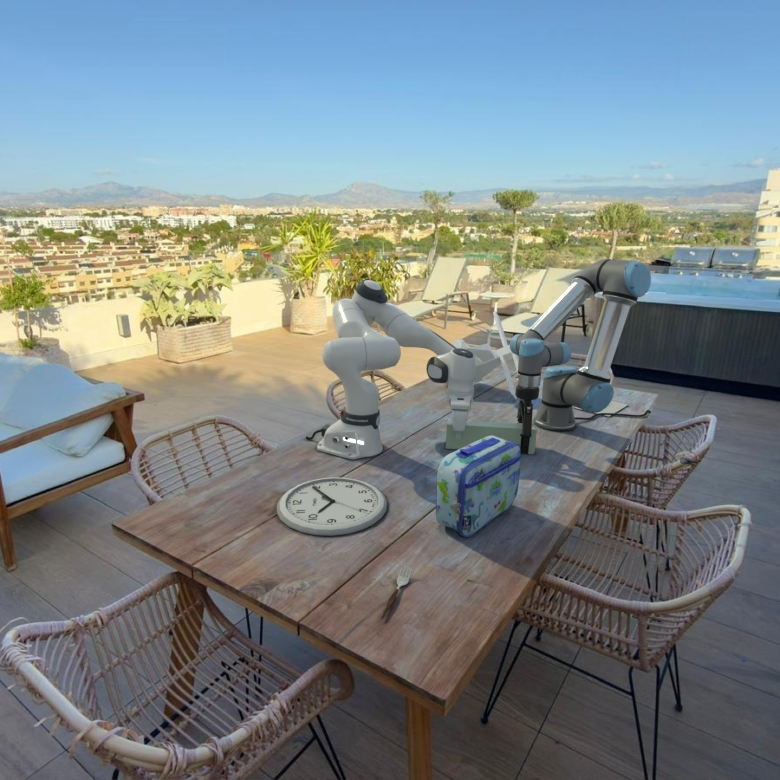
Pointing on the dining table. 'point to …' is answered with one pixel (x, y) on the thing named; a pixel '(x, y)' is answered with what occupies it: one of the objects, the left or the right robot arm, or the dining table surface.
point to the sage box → (487, 433)
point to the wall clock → (331, 506)
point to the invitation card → (611, 408)
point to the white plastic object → (491, 357)
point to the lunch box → (477, 484)
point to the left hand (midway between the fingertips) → (457, 434)
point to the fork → (401, 582)
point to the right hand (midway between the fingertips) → (521, 446)
